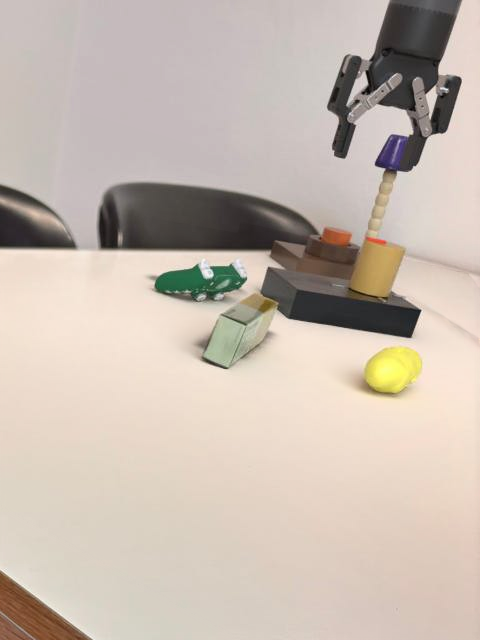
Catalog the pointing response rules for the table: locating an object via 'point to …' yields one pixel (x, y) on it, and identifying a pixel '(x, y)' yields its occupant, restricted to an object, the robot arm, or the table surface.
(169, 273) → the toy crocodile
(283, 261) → the switch block
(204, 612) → the table surface
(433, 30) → the robot arm
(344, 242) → the power button
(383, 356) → the lemon
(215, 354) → the medication box
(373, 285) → the dimmer knob
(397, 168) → the toy lamp
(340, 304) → the dark grey flat block
